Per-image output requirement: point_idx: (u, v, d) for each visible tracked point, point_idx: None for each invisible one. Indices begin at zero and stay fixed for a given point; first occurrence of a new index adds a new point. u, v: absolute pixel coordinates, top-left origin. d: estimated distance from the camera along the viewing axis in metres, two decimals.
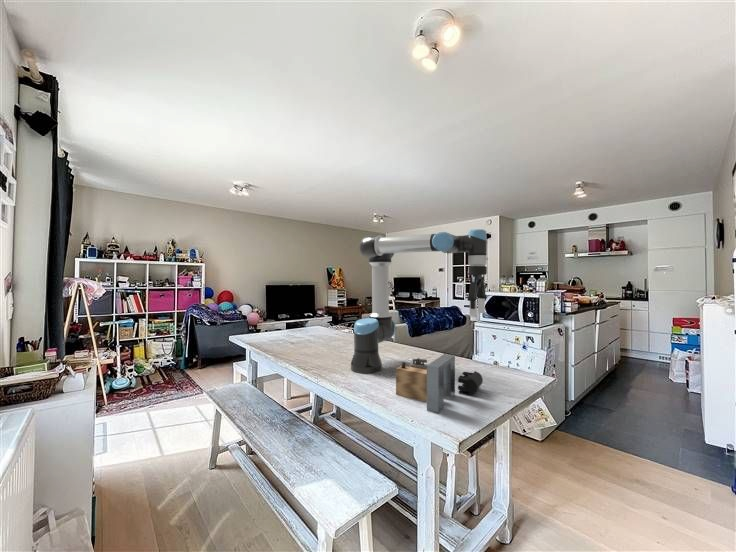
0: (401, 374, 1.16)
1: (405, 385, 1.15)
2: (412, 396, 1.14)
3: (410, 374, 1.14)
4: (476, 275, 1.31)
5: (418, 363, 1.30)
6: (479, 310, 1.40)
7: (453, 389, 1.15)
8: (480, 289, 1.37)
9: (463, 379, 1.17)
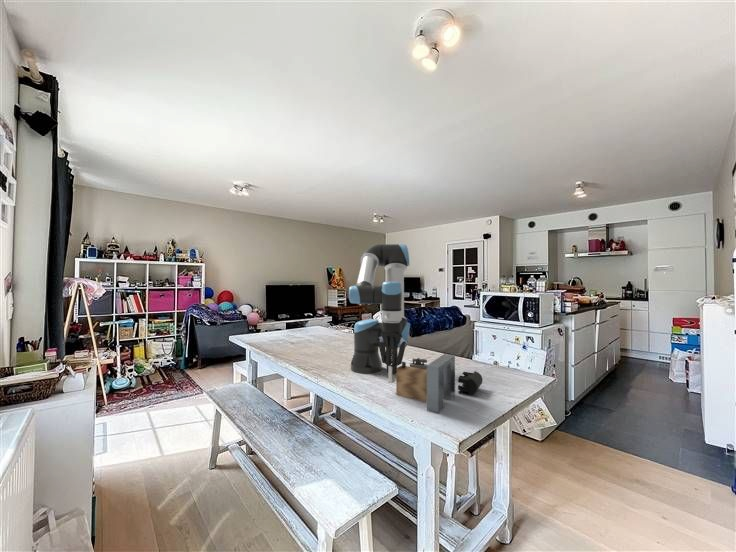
0: (401, 374, 1.16)
1: (406, 385, 1.15)
2: (412, 396, 1.13)
3: (411, 374, 1.14)
4: None
5: (418, 363, 1.30)
6: None
7: (453, 389, 1.15)
8: None
9: (463, 379, 1.17)
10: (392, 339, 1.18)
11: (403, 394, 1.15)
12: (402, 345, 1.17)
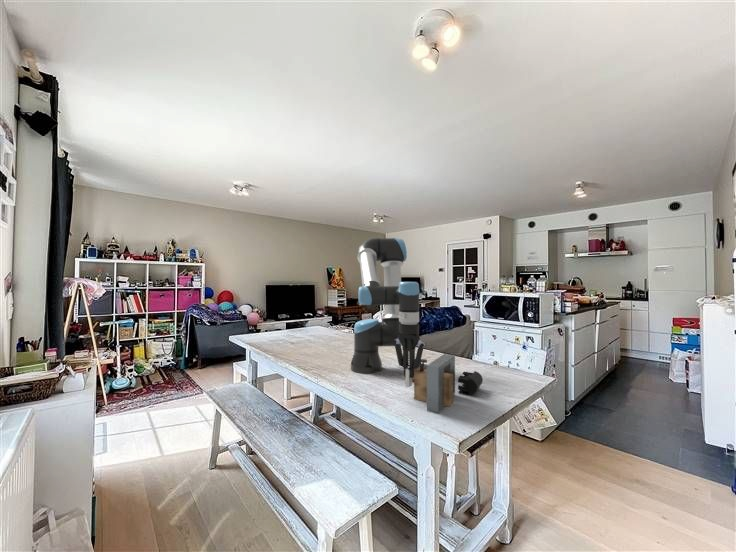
0: (420, 377, 1.12)
1: (424, 388, 1.11)
2: None
3: None
4: None
5: None
6: None
7: (453, 389, 1.15)
8: None
9: (463, 379, 1.17)
10: (410, 341, 1.14)
11: (421, 398, 1.11)
12: (420, 347, 1.13)
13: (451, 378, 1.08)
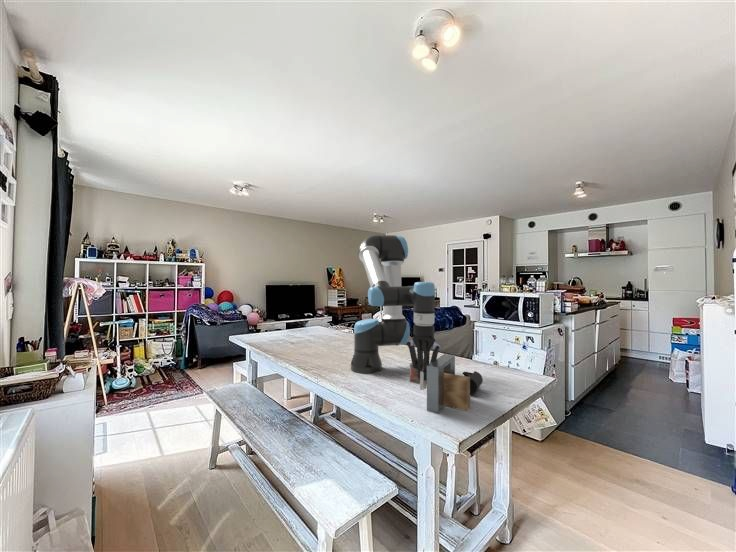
0: None
1: None
2: (448, 404, 1.07)
3: (446, 381, 1.07)
4: None
5: None
6: None
7: None
8: None
9: None
10: (425, 343, 1.11)
11: None
12: (436, 350, 1.10)
13: (468, 381, 1.05)
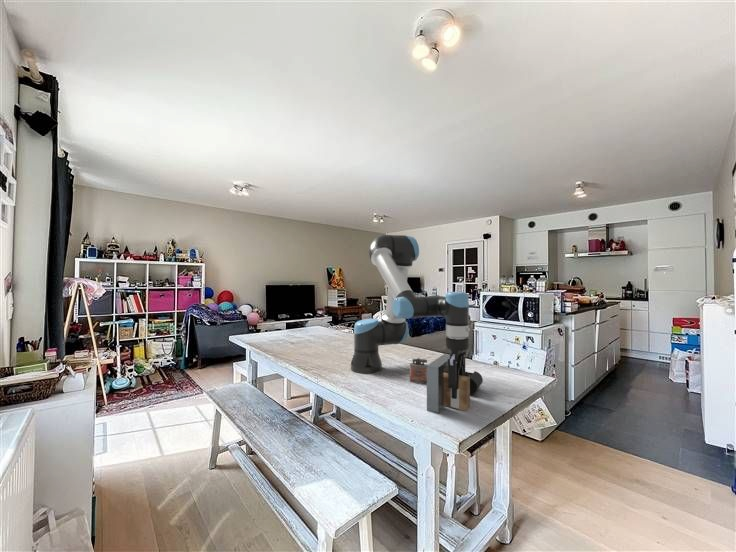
0: None
1: None
2: (448, 404, 1.06)
3: (446, 381, 1.07)
4: (455, 351, 1.03)
5: (418, 363, 1.30)
6: None
7: None
8: (459, 368, 1.08)
9: None
10: (464, 355, 1.07)
11: None
12: (465, 356, 1.11)
13: (468, 381, 1.05)
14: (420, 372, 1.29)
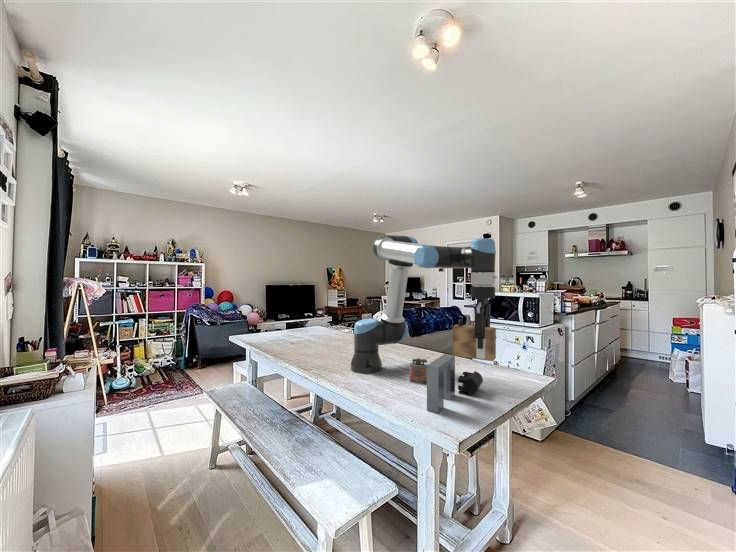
0: (459, 332, 1.04)
1: (464, 344, 1.03)
2: (473, 356, 1.02)
3: (471, 331, 1.02)
4: (481, 299, 0.99)
5: (418, 363, 1.30)
6: None
7: (453, 389, 1.15)
8: (485, 319, 1.04)
9: (463, 379, 1.17)
10: (489, 305, 1.02)
11: (461, 354, 1.04)
12: None
13: (494, 331, 1.00)
14: (420, 372, 1.29)
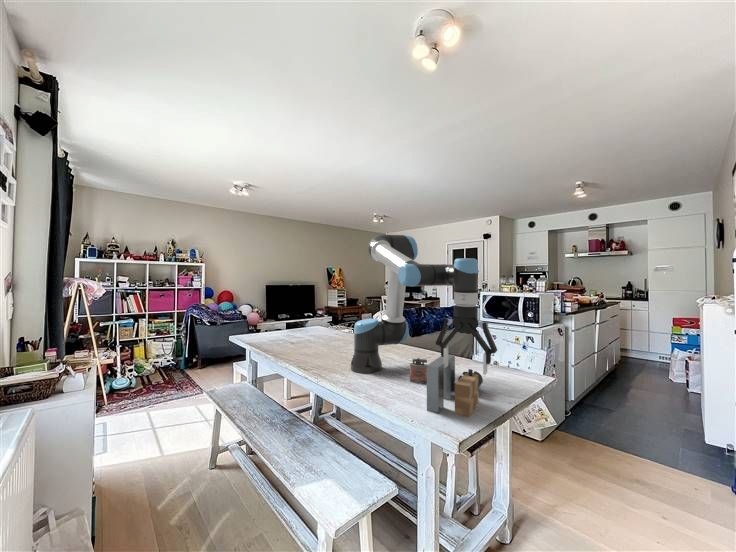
0: None
1: None
2: None
3: None
4: None
5: (418, 363, 1.30)
6: None
7: (453, 389, 1.15)
8: None
9: None
10: (468, 325, 1.00)
11: None
12: (484, 327, 0.98)
13: (462, 387, 0.99)
14: (420, 372, 1.29)
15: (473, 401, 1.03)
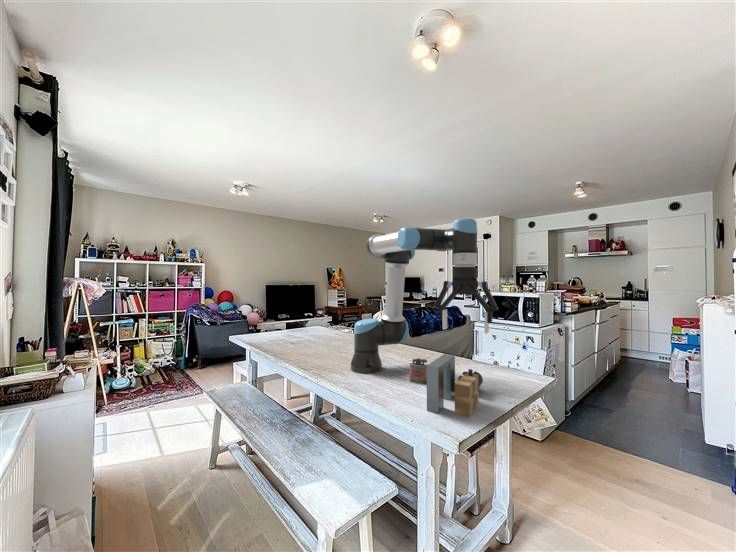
0: None
1: None
2: None
3: None
4: (453, 279, 1.04)
5: (418, 363, 1.30)
6: None
7: (453, 389, 1.15)
8: None
9: None
10: (467, 286, 1.00)
11: None
12: (484, 286, 0.98)
13: (462, 387, 0.99)
14: (420, 372, 1.29)
15: (473, 401, 1.03)
